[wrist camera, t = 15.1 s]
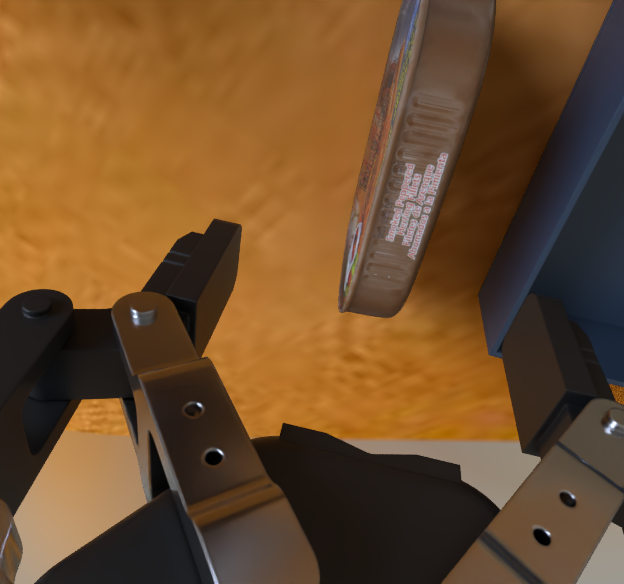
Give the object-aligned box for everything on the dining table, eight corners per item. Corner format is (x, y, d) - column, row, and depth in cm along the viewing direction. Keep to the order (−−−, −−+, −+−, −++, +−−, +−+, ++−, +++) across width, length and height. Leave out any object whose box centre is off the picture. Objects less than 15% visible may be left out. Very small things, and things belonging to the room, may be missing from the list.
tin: (415, -56, 21) (416, -48, 14) (490, -40, 21) (528, -24, 14) (341, 251, 30) (320, 346, 23) (393, 263, 30) (388, 362, 23)
